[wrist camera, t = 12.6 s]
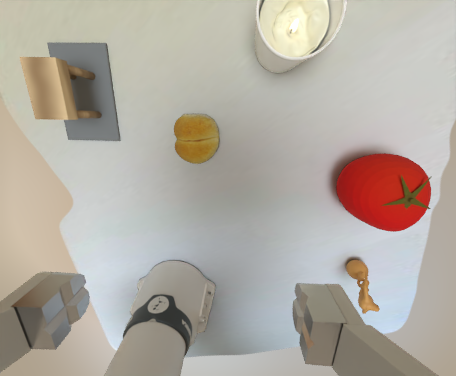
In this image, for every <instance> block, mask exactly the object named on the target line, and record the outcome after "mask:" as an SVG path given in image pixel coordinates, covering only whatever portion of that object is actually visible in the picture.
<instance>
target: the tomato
mask: <svg viewBox="0 0 456 376" xmlns="http://www.w3.org/2000/svg"><path fill="white" fill-rule="evenodd" d="M431 177H432V176H431ZM431 177H430V178H431ZM430 178H429V179H430ZM429 179H428V176H427V175H426V173H425V172H424V170H423V169H422V168H421V167H420V166H419V165H417V164H416V163H414V162H413V161H411V160H409V159H408V158H405V157H402V156H399V155H393V154H374V155H369V156H364V157H361V158H358V159H356V160H354V161H352V162H351V163H349V164H348V165H346V167H345V168H344V169H343V170H342V172H341V173H340V175H339V177H338V180H337V186H336V189H337V195H338V197H339V200H340V202H341V203H342V204H343V206H344V207H345V209H346V210H347V211H348V212H350V213H351V214H352V215H353V216H354V217H356V218H358V219H360V220H361V221H363V222H365V223H367V224H369V225H371V226H373V227H376V228H378V229H382V230H386V231H401V230H404V229H406V228H408V227H410V226H412V225H413V224H415V223H416V222H417V221H419V220H420V218H421V217H422V216H423V215H424V213H425V212H426V210H427V208H428V209H430V208H429V207H428V205H429V202H430V197H431V187H430V182H429Z"/></svg>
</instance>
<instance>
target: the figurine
mask: <svg viewBox="0 0 456 376" xmlns="http://www.w3.org/2000/svg"><path fill="white" fill-rule="evenodd" d="M346 269H347V272H348V274H349V275H350V276H351V277H352V278H354V279H357V280H358V281H357V284H358V286H359V287H360V288H361V290H360V292H359V299H358V303H359V306H360V307H361V308H362V309H363V310H362V313H366V312H367V311H368V310H373V311H379V306H378V305H376V304H375V303H374V302H373V299H372V297H371V296H370V295H368V291H369V289H368V285H369V281H368V280H367V276H368V268H367V266H366V265H365V264H364V263H363V262H362V261H359V260H351V261H350V262H348V264H347V267H346ZM364 278H365V279H364ZM360 281H364V282H363V283H362V284H360Z"/></svg>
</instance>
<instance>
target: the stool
mask: <svg viewBox="0 0 456 376" xmlns="http://www.w3.org/2000/svg"><path fill="white" fill-rule="evenodd" d="M20 61H21V65H22V69H23V72H24V76H25V80H26V84H27V88H28V92H29V96H30V100H31V104H32V108H33V111H34V115H35V119H58V120H78V118H101V116H102V115H101V113H100V112H99V111H81V110H76V106H75V101H74V96H73V91H72V86H71V81H70V79H73V80H74V79H76V76H80V77H83V78H87V79H91V80H94V79H95V74H94V73H93V72H90V71H86V70H83V69H80V68H77V67H74V66H71V65H68V64H67V61H64V60H61V59H58V58H55V57H20Z"/></svg>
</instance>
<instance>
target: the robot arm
mask: <svg viewBox="0 0 456 376" xmlns="http://www.w3.org/2000/svg"><path fill="white" fill-rule="evenodd" d="M85 283H86V280H85V277H84V275H82V274H75V273H61V272H40V273H38V274H36V275H35V276H33V277H32V278H31V279H29V280H28V281H27V282H25V283H24V284H23V285H22V286H21V287H19V288H18V289H17V290H15V291H14V292H12V293H11V294H10V295H8V296H7V297H6V298H4V299H3V300H2V301H1V302H0V372H1V371H3V370H5V369H6V368H7V367H9V366H10V365H11V364H12V363H14V362H15V361H17V360H18V359H20V358H21V357H22V356H24V355H25V354H26V353H28V352H29V351H30V350H31V349H57V347H58V346H59V345H60V344H61V342H62V341H63V340H64V339H65V337H66V336H67V335H68V333H69V332H70V331H71V324H73V323H74V322H76V321H78V320H79V319H80V318H81V317H82V316H83V314H84V313H85V312H86V309H87V307H88V304H89V298H90V296H89V292H88V291H87V290H86V289H85V288H84V285H85ZM137 288H138V290H139V291H138V294H137V296H136V298H135V300H134V302H133V304H132V307H131V309H130V312H131V315H132V317H131V319H130V320H129V322H128V324H127V326H126V329H125V331H124V334H123V340H122V342H121V344H120V346H119V348H118V350H117V352H116V354H115V356H114V358H113V359H112V361H111V363H110V365H109V367H108V369H107V371H106V373H105V375H104V376H180V374H181V369H182V364H183V359H184V356H185V355H186V353H187V351H188V349H189V346H191V345H193V344H194V342H195V338H196V334H198V333H201V332H205V329H206V325H207V321H208V317H209V313H210V309H211V305H212V301H213V297H214V293H215V289H216V286H215V284H214V283H212V282H211V281H209V280H207V279H206V278H205V277H204V276H203V275H202V274H201V272H200V271H199V270H198V269H196V268H195V267H193V266H192V265H190V264H188V263H185V262H181V261H165V262H162V263H160V264H158V265H156V266H155V267H154V268H153V269H152V270H151V271H150V272H149V274H148V275H147V276H146V277H144V278H142V279H140V280H139V281H138V284H137ZM209 291H210V292H209ZM295 294H296V297H297V298H296V299H295V300H294V301H293V320H294V325H295V328H296V331H297V332H298V333H299V334H300V335H301V336H300V347H301V350H302V354H303V357H304V360H305V364H312V365H323V366H333V367H332V368H333V369H334V370H335V372H336V373H337V374H338V375H339V376H438V375H437V374H436V373H434V372H433V371H431V370H430V369H429V368H427V367H426V366H425V365H423V364H422V363H421V362H419V361H418V360H417V359H415V358H414V357H412V356H411V355H410V354H409V353H407V352H406V351H404V350H403V349H402V348H400V347H399V346H398V345H396V344H395V343H393V342H392V341H391V340H390V339H388V338H387V337H386V336H384V335H383V334H382V333H380V332H379V331H377V330H376V329H375V328H373V327H372V326H371V325H365V323H364V321H363V320H362V318H361V317H360V315H359V314H358V312H357V310H356V309H355V307H354V306H353V304H352V302H351V301H350V299H349V298H348V296H347V295H346V293H345V291H344V290H343V288H342V287H341V286H340V285H339V284H306V283H297V284H296V287H295Z"/></svg>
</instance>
